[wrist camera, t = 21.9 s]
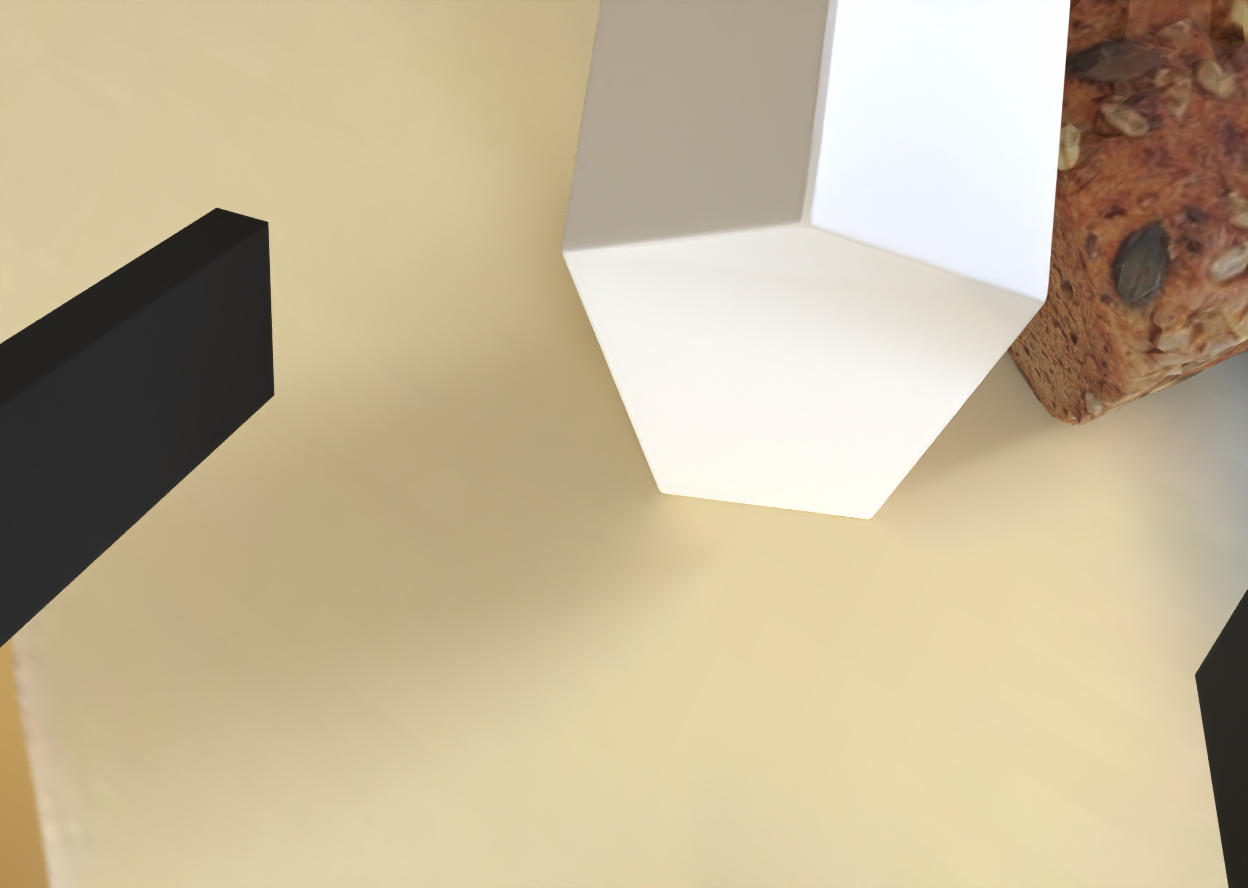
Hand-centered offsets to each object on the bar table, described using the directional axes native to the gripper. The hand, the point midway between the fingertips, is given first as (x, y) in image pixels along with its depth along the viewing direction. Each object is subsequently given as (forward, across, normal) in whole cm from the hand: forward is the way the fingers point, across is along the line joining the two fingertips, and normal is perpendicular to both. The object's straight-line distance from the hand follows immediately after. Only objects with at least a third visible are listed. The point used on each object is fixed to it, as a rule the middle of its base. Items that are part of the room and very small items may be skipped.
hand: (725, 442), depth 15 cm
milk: (+16, 0, -9) cm, 19 cm away
